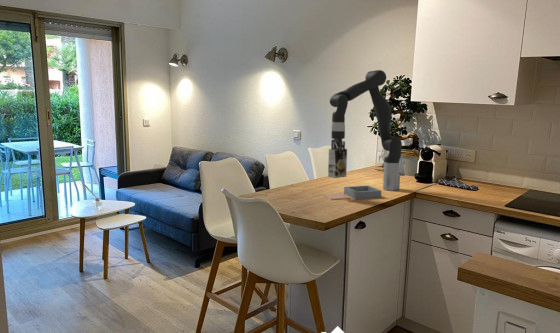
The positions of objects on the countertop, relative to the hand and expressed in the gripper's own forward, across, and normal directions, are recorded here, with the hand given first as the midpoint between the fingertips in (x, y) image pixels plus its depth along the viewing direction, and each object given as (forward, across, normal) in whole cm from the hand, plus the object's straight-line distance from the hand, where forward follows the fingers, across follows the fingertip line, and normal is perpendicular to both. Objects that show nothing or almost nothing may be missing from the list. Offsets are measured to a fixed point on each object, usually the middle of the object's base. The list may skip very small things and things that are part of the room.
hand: (337, 158), depth 238 cm
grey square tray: (+22, 0, -16) cm, 27 cm away
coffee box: (+11, 0, 0) cm, 11 cm away
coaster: (+22, 0, 0) cm, 22 cm away
